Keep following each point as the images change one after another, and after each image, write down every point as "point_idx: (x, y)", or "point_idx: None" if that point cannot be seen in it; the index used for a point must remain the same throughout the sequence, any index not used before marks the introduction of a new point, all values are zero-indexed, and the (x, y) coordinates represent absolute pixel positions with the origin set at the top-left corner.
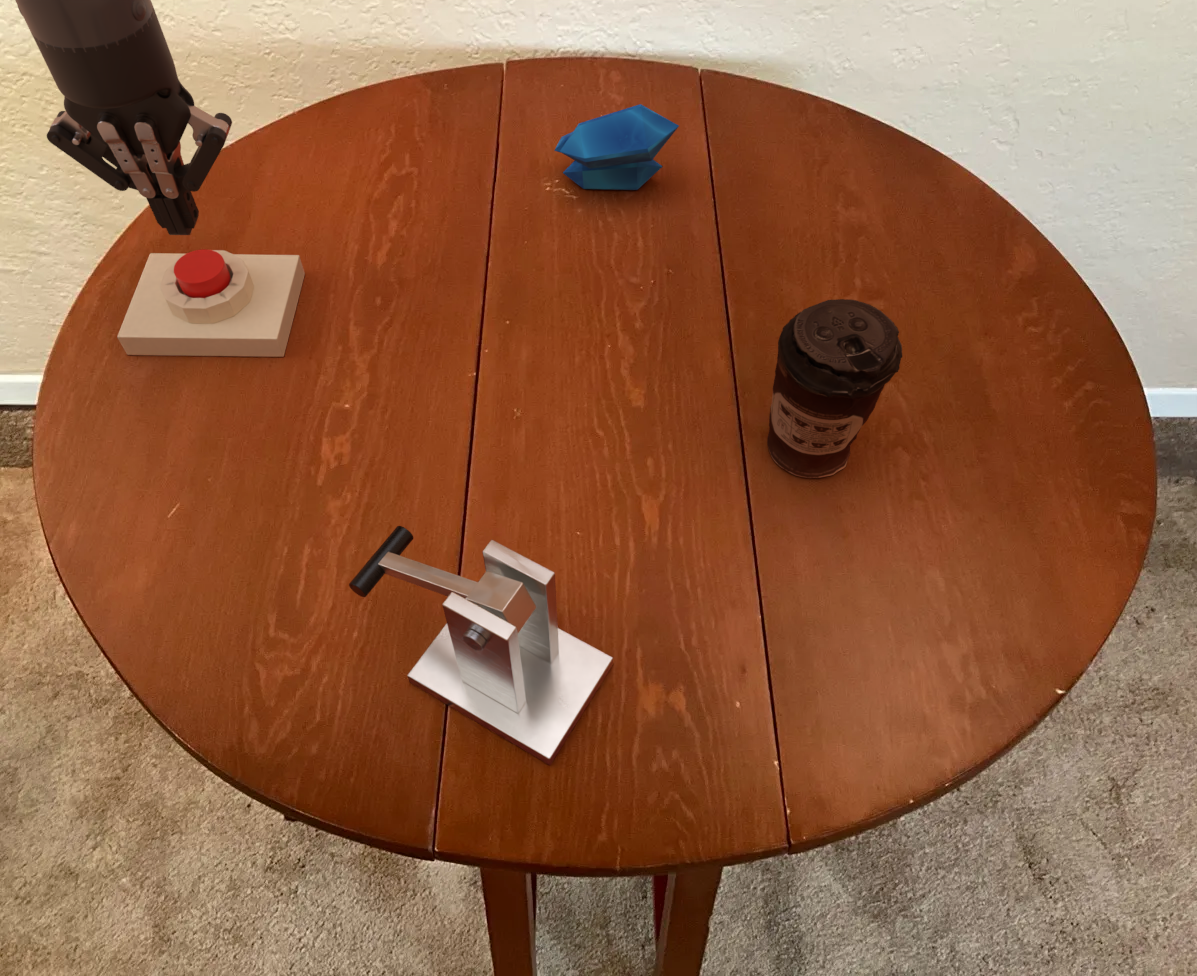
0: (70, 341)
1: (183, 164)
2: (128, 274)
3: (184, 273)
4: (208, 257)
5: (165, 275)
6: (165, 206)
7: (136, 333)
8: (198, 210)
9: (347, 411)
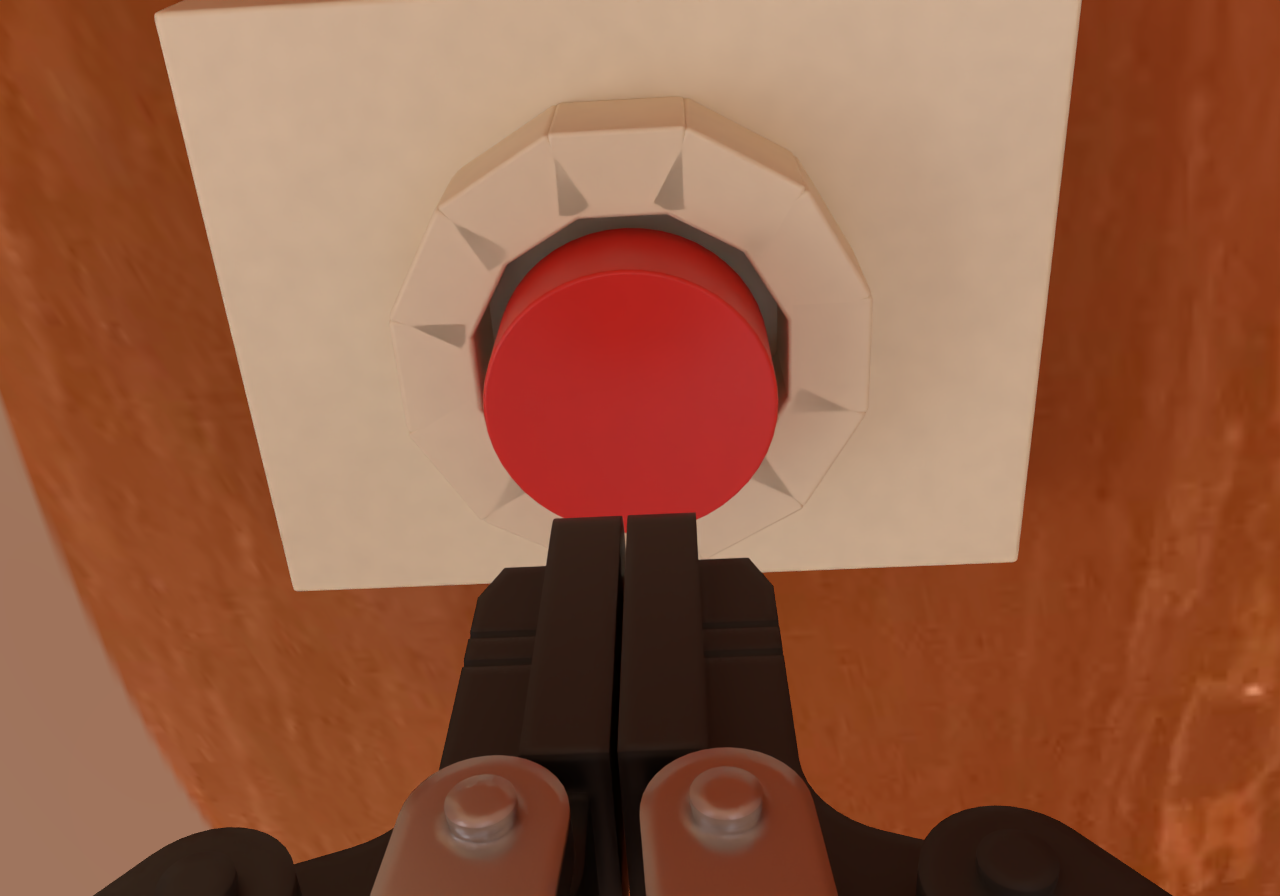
0: (43, 470)
1: (831, 886)
2: (47, 21)
3: (567, 472)
4: (667, 340)
5: (405, 360)
6: (628, 880)
7: (370, 570)
8: (773, 590)
9: (1253, 711)
